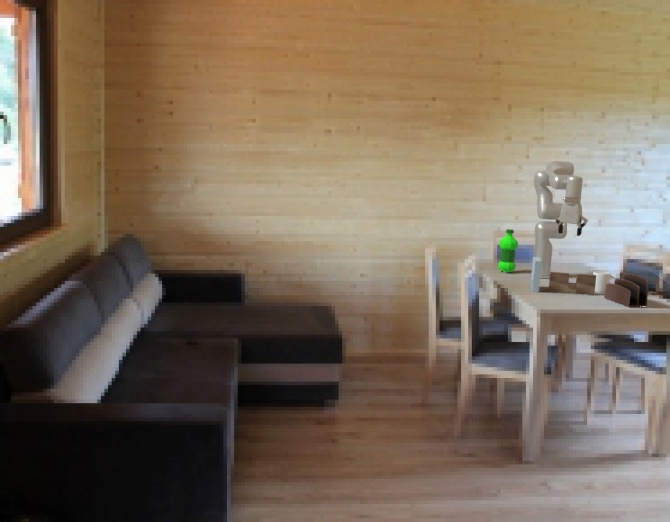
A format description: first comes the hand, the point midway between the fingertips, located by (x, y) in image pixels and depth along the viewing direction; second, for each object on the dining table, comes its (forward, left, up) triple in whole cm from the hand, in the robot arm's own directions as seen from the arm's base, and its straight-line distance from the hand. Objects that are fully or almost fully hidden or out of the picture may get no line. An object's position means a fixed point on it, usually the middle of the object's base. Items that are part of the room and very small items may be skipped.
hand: (569, 234), depth 358 cm
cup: (-7, +18, -30) cm, 35 cm away
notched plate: (+2, -15, -29) cm, 33 cm away
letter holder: (+18, +26, -30) cm, 44 cm away
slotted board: (+4, +3, -29) cm, 30 cm away
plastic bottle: (-44, -27, -30) cm, 59 cm away
